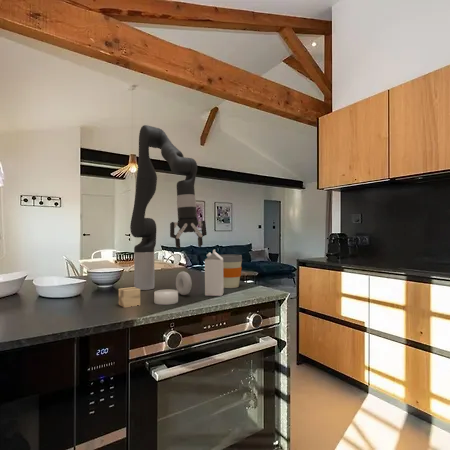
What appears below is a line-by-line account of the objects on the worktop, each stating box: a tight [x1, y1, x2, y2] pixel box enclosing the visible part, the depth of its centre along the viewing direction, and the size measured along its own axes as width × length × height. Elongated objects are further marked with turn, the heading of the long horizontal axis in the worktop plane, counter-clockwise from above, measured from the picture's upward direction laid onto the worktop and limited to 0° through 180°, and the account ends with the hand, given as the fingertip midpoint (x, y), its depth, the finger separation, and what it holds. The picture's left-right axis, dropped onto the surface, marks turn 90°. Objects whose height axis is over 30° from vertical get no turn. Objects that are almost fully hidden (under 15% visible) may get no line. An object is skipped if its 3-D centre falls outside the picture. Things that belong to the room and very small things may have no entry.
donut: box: [175, 270, 193, 296], centre depth 144 cm, size 10×4×10 cm, turn 39°
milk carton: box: [204, 249, 225, 297], centre depth 145 cm, size 7×7×19 cm
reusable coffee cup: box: [219, 253, 243, 289], centre depth 164 cm, size 13×13×15 cm
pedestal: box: [153, 288, 179, 305], centre depth 130 cm, size 9×9×4 cm
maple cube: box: [118, 286, 141, 308], centre depth 126 cm, size 6×6×6 cm
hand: (189, 247), depth 134 cm, fingers open, 8 cm apart
